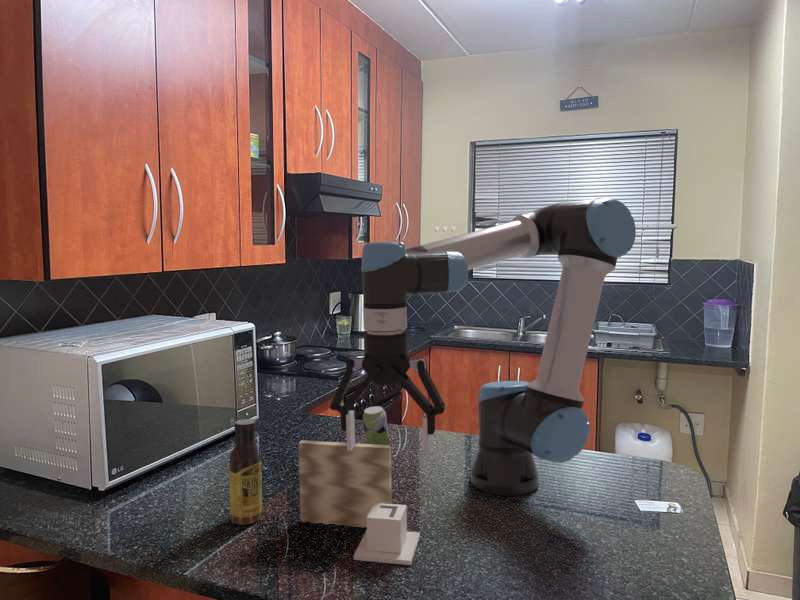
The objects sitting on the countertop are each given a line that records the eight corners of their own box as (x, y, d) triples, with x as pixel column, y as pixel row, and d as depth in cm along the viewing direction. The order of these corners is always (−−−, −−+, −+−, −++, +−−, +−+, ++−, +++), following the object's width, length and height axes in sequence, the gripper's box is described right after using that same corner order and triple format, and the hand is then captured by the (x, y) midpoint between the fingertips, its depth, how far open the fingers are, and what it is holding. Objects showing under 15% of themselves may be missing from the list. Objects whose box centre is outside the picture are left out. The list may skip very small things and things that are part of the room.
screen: (396, 514, 120) (395, 437, 118) (390, 529, 114) (389, 448, 112) (311, 508, 123) (309, 432, 122) (300, 522, 117) (298, 443, 116)
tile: (419, 536, 111) (419, 531, 111) (410, 565, 101) (410, 560, 101) (367, 532, 113) (367, 527, 113) (353, 559, 103) (353, 554, 103)
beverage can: (394, 450, 157) (394, 405, 156) (378, 459, 151) (378, 412, 150) (375, 446, 160) (374, 402, 159) (358, 454, 154) (357, 409, 153)
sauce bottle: (245, 530, 114) (242, 429, 112) (223, 522, 118) (219, 423, 116) (270, 516, 120) (267, 420, 118) (247, 509, 123) (244, 415, 121)
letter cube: (406, 536, 109) (406, 504, 109) (400, 553, 103) (400, 519, 103) (374, 533, 110) (373, 502, 110) (366, 550, 105) (366, 516, 104)
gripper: (309, 334, 102) (314, 454, 104) (455, 335, 97) (456, 461, 99) (323, 327, 109) (327, 439, 111) (459, 328, 105) (460, 445, 107)
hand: (388, 450), depth 105 cm, fingers open, 13 cm apart
